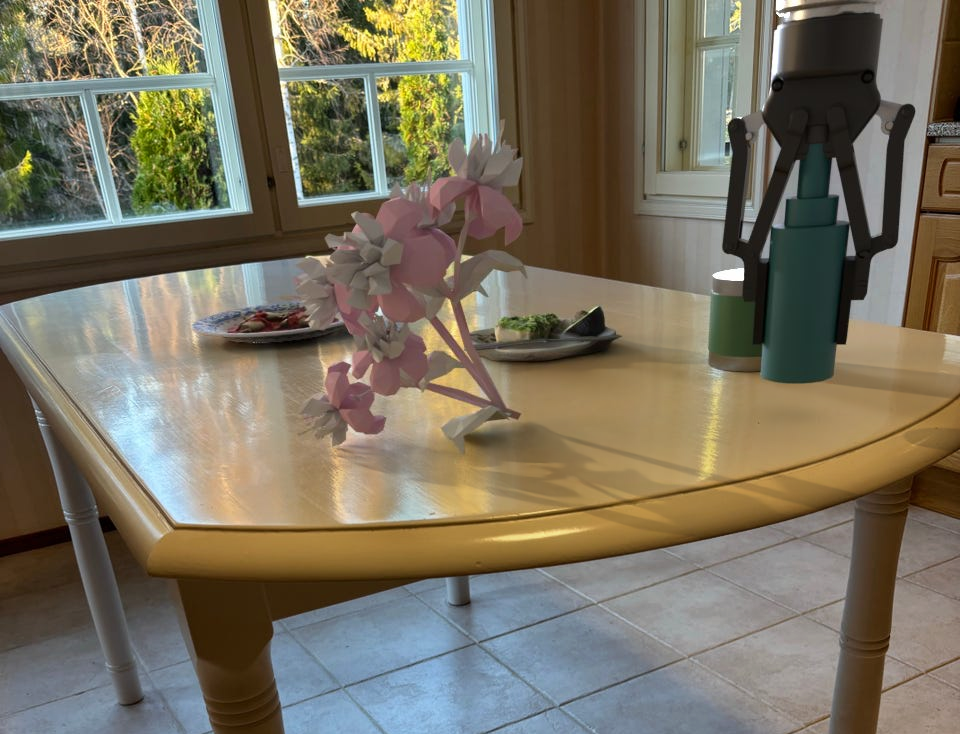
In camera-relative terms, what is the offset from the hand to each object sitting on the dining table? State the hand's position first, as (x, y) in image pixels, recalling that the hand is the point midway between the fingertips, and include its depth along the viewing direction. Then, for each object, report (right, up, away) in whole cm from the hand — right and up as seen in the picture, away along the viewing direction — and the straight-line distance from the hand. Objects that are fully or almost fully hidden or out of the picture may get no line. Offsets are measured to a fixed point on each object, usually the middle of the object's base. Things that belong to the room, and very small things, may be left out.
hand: (799, 340), depth 79 cm
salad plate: (-19, +10, +35) cm, 41 cm away
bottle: (0, -3, +1) cm, 3 cm away
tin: (+2, +5, +21) cm, 22 cm away
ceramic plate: (-55, +19, +56) cm, 81 cm away
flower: (-34, -8, +4) cm, 35 cm away
